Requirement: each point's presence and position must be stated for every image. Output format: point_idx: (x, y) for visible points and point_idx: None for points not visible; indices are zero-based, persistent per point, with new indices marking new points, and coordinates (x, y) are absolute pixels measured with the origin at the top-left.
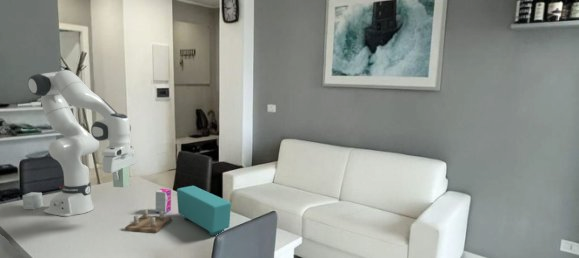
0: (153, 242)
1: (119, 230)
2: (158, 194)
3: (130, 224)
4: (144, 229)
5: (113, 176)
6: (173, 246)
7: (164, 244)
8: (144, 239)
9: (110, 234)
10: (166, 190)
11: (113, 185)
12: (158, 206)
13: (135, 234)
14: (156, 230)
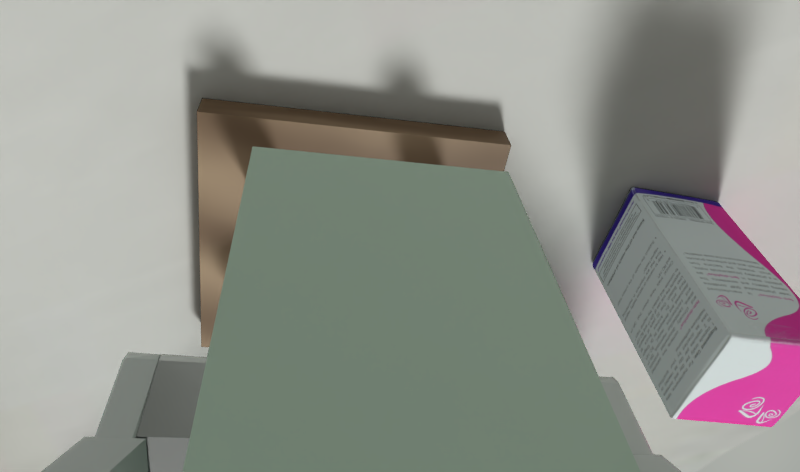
0: (56, 359)
1: (190, 45)
2: (695, 338)
3: (268, 131)
4: (200, 267)
5: (211, 344)
6: (46, 458)
7: (52, 416)
8: (80, 298)
9: (79, 2)
10: (744, 408)
11: (249, 167)
12: (640, 250)
13: (144, 210)
14: (203, 342)
